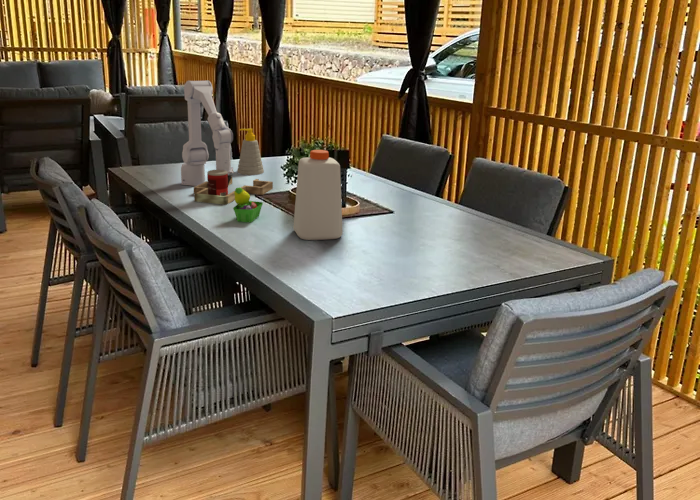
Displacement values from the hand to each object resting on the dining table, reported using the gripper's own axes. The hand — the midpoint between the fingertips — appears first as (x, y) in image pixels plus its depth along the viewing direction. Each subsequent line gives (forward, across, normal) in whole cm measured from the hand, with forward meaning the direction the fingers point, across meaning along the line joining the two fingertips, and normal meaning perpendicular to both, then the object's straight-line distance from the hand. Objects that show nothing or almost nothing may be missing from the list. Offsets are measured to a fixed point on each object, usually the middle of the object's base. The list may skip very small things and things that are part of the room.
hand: (224, 193), depth 267 cm
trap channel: (+1, +4, -1) cm, 5 cm away
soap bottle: (+1, +46, +7) cm, 47 cm away
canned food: (+1, -6, 0) cm, 6 cm away
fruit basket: (+1, -28, -21) cm, 35 cm away
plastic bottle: (+2, -37, -50) cm, 62 cm away
